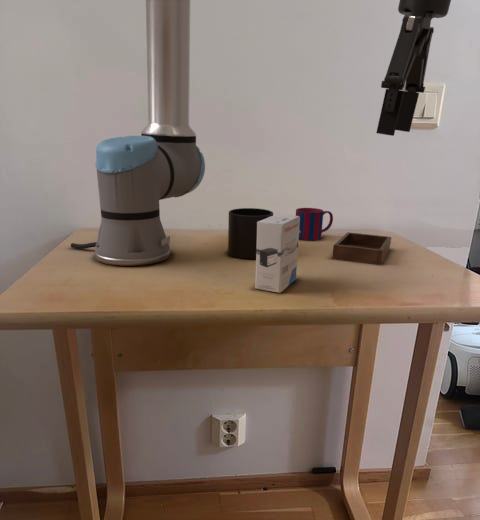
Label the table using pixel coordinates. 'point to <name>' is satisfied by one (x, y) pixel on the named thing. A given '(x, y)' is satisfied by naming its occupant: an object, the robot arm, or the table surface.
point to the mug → (244, 231)
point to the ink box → (276, 252)
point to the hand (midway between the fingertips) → (393, 132)
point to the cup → (312, 223)
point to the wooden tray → (362, 248)
